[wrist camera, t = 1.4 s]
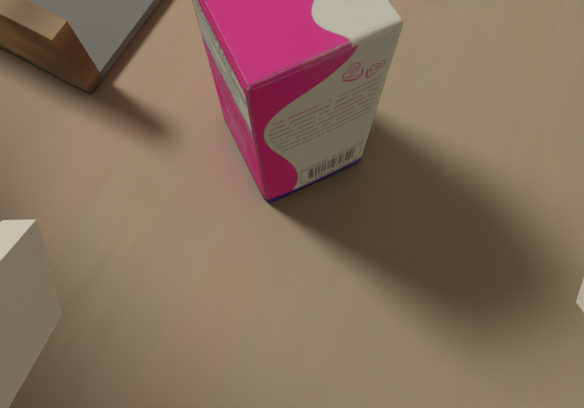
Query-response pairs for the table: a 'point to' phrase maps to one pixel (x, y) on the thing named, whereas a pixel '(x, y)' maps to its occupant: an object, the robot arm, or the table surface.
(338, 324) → the table surface
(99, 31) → the grey mat
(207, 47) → the supplement box
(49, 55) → the walnut corner walls
